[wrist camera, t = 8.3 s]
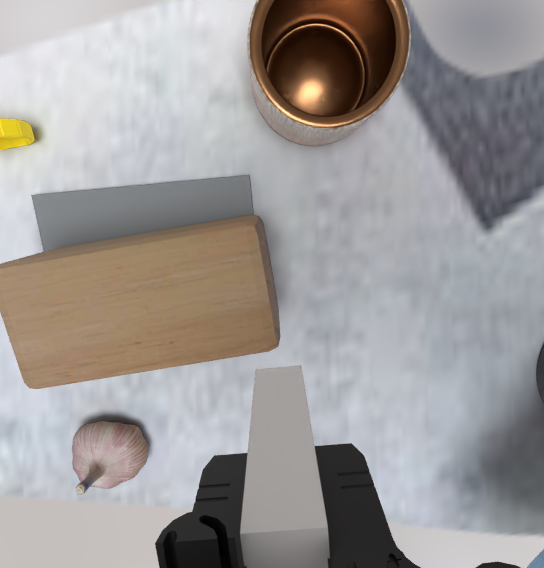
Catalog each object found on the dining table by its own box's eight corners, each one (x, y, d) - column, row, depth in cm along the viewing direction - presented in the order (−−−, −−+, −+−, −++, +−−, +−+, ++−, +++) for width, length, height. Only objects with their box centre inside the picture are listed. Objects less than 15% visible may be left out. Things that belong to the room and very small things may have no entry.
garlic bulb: (67, 434, 43) (23, 487, 36) (117, 394, 42) (82, 440, 35) (116, 481, 45) (84, 542, 37) (165, 444, 44) (143, 499, 36)
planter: (324, -18, 34) (344, -97, 25) (400, 90, 36) (446, 55, 27) (226, 73, 35) (211, 31, 26) (304, 172, 37) (315, 166, 28)
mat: (249, 175, 37) (249, 175, 37) (265, 338, 41) (265, 340, 40) (35, 195, 38) (31, 195, 37) (69, 355, 41) (67, 357, 41)
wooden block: (279, 314, 40) (81, 346, 40) (261, 212, 38) (52, 248, 38) (282, 354, 30) (22, 396, 31) (259, 219, 28) (-22, 268, 28)
